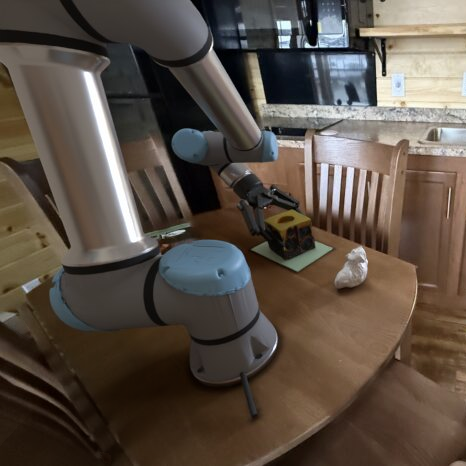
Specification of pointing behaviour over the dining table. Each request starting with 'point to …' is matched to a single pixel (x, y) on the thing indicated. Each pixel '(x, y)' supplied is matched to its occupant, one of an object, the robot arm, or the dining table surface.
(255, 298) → the robot arm
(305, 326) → the dining table surface
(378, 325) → the dining table surface
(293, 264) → the napkin
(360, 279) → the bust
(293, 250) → the yellow and black cube
